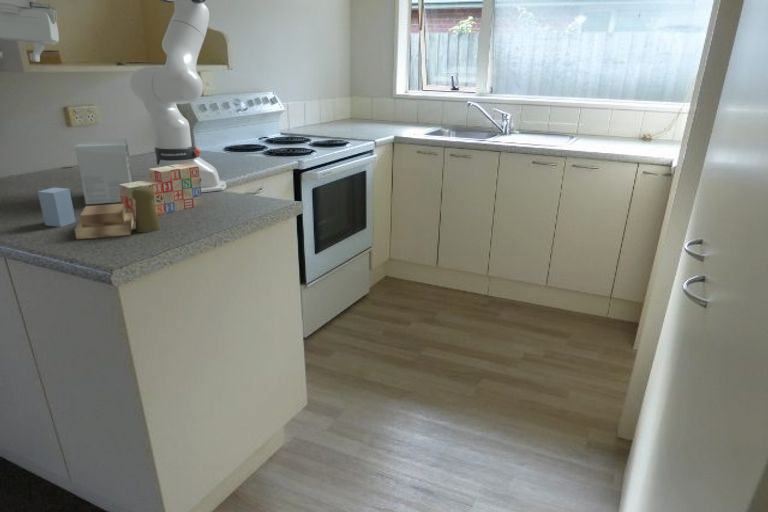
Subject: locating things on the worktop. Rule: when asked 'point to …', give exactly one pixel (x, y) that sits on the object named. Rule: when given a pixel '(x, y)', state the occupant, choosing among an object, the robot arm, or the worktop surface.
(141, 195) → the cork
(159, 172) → the stack of blocks
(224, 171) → the worktop surface
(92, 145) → the supplement box
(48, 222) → the pillar
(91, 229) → the plinth
